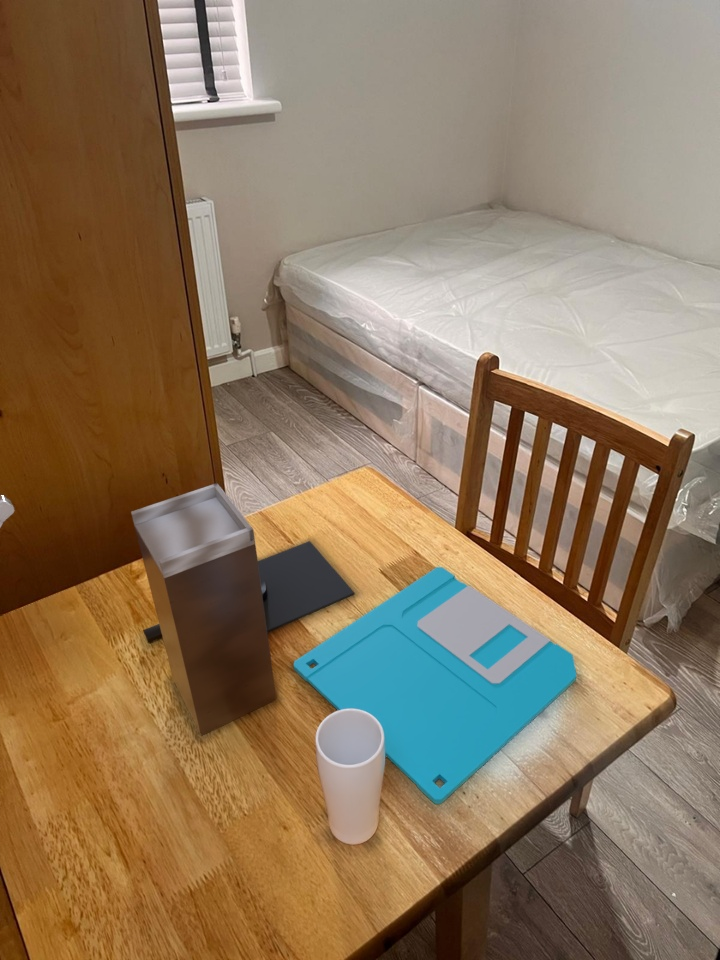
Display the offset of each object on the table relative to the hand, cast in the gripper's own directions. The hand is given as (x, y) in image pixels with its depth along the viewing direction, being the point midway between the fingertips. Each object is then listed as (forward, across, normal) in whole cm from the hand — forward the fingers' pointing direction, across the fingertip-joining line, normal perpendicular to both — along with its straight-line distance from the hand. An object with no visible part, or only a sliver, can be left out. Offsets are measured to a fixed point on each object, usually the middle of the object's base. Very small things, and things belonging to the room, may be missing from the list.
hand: (0, 479), depth 75 cm
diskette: (+19, -21, +49) cm, 57 cm away
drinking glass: (+2, -34, +40) cm, 52 cm away
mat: (+7, +4, +42) cm, 43 cm away
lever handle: (0, +4, +37) cm, 37 cm away
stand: (-3, -10, +37) cm, 38 cm away
